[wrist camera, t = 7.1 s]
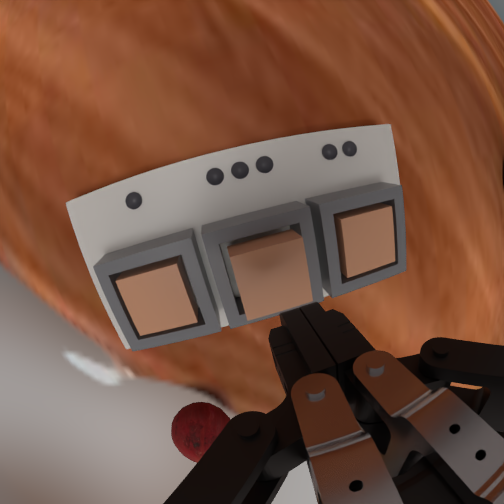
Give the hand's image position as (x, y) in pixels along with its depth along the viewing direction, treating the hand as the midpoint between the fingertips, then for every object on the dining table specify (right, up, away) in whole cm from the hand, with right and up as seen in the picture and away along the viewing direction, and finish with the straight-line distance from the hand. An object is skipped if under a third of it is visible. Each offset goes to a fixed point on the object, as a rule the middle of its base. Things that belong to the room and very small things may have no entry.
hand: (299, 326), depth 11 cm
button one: (-8, +1, +7) cm, 11 cm away
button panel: (-2, +5, +10) cm, 11 cm away
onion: (-7, -12, +15) cm, 20 cm away
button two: (+6, +4, +8) cm, 11 cm away
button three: (-1, +2, +7) cm, 7 cm away
